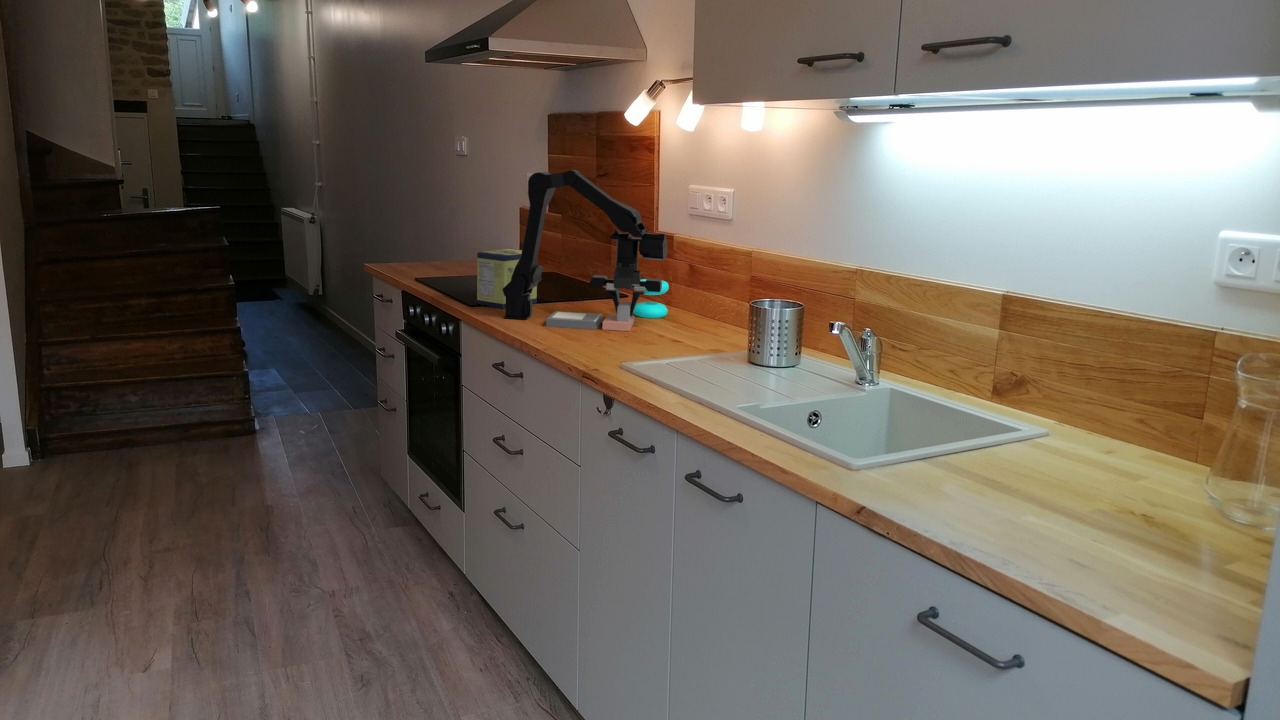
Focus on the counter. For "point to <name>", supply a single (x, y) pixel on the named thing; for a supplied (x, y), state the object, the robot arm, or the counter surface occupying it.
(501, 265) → the protein box
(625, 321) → the pink and grey block
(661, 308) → the donuts
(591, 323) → the grey flat box
